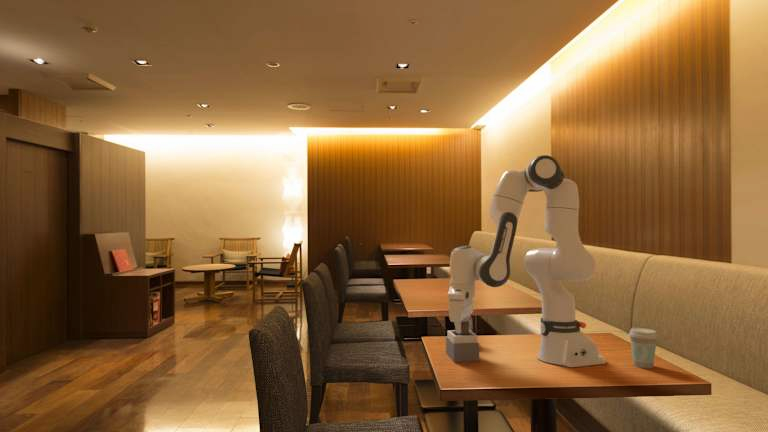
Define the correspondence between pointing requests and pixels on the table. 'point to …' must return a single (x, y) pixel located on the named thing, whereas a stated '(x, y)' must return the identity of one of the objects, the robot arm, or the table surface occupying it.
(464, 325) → the lens
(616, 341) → the table surface
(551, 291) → the robot arm
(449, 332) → the camera body
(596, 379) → the table surface
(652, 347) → the coffee cup
